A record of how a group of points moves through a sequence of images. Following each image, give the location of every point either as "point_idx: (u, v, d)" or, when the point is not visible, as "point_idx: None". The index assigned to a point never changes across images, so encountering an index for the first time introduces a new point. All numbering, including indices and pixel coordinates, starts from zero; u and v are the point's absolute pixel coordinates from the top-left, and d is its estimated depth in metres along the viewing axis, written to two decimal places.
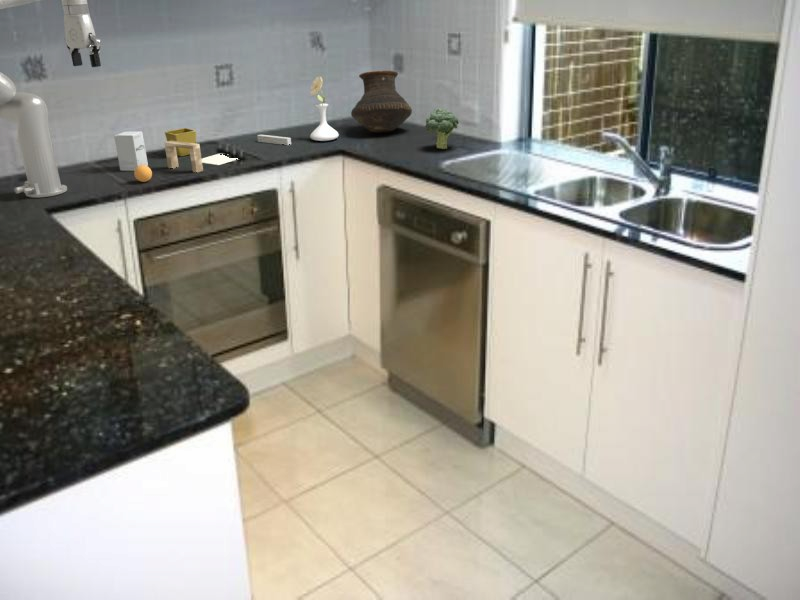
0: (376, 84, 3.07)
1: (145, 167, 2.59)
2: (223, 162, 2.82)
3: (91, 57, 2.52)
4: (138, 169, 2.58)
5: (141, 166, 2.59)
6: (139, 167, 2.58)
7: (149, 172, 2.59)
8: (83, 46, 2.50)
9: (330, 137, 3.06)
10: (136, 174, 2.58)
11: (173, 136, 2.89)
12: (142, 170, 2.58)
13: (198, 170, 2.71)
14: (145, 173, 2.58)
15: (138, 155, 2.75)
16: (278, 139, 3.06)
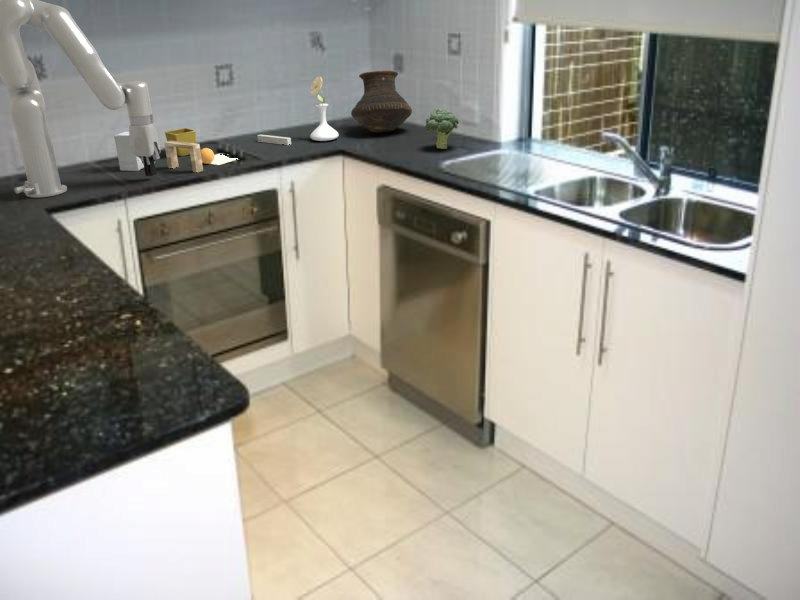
0: (376, 84, 3.07)
1: (209, 162, 2.80)
2: (223, 162, 2.82)
3: (147, 167, 2.61)
4: None
5: None
6: None
7: (209, 158, 2.79)
8: (148, 155, 2.56)
9: (330, 137, 3.06)
10: None
11: (173, 136, 2.89)
12: (212, 160, 2.81)
13: (198, 170, 2.71)
14: (213, 157, 2.80)
15: None
16: (278, 139, 3.06)
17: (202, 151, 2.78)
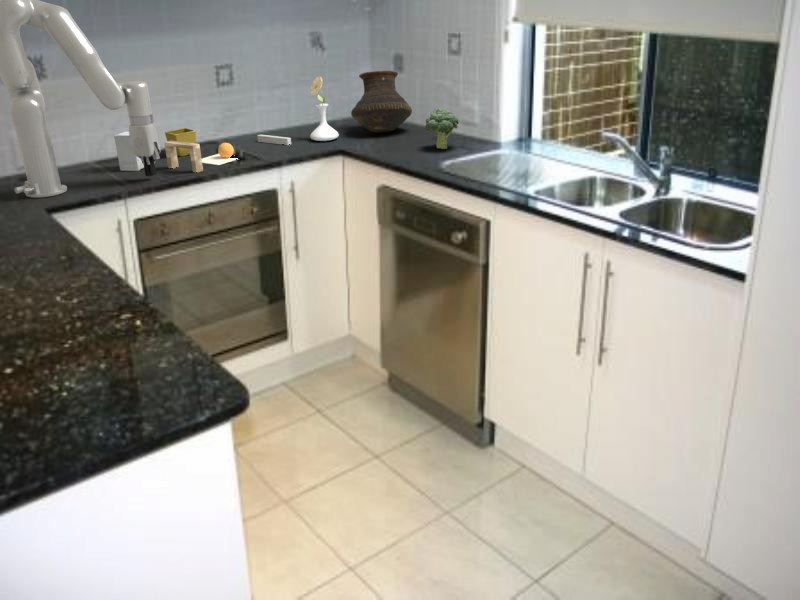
0: (376, 84, 3.07)
1: (230, 145, 2.87)
2: (223, 162, 2.82)
3: (147, 167, 2.61)
4: (224, 144, 2.86)
5: (227, 143, 2.87)
6: (225, 143, 2.86)
7: (232, 150, 2.87)
8: (148, 155, 2.56)
9: (330, 137, 3.06)
10: (220, 148, 2.85)
11: (173, 136, 2.89)
12: (227, 146, 2.85)
13: (198, 170, 2.71)
14: (229, 149, 2.86)
15: None
16: (278, 139, 3.06)
17: None
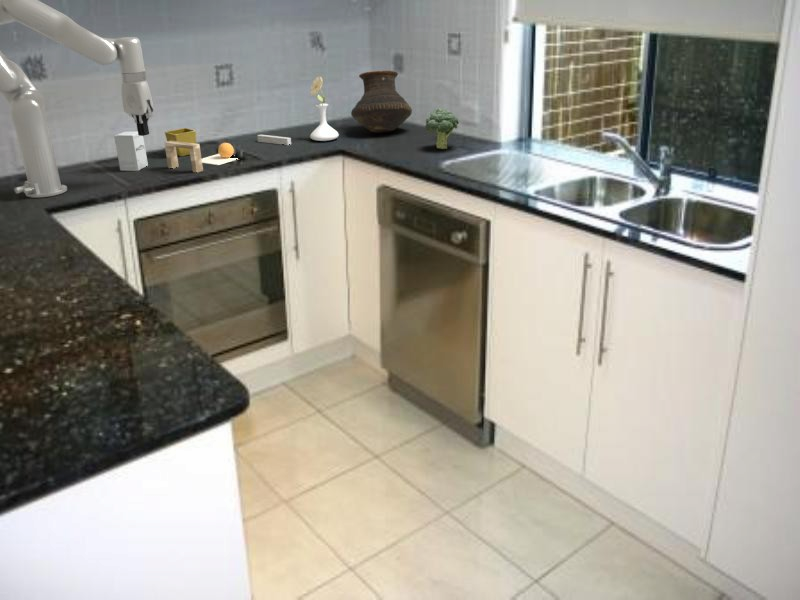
0: (376, 84, 3.07)
1: (230, 145, 2.87)
2: (223, 162, 2.82)
3: (140, 126, 2.55)
4: (224, 144, 2.86)
5: (227, 143, 2.87)
6: (225, 143, 2.86)
7: (232, 150, 2.87)
8: (141, 113, 2.51)
9: (330, 137, 3.06)
10: (220, 148, 2.85)
11: (173, 136, 2.89)
12: (227, 146, 2.85)
13: (198, 170, 2.71)
14: (229, 149, 2.86)
15: (138, 155, 2.75)
16: (278, 139, 3.06)
17: None
